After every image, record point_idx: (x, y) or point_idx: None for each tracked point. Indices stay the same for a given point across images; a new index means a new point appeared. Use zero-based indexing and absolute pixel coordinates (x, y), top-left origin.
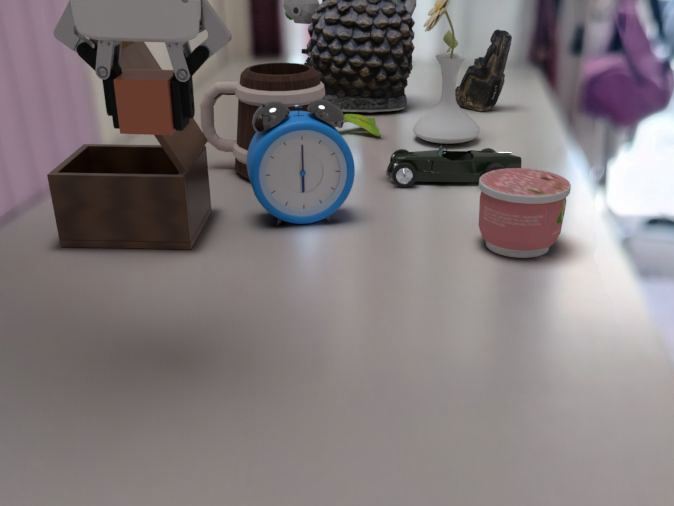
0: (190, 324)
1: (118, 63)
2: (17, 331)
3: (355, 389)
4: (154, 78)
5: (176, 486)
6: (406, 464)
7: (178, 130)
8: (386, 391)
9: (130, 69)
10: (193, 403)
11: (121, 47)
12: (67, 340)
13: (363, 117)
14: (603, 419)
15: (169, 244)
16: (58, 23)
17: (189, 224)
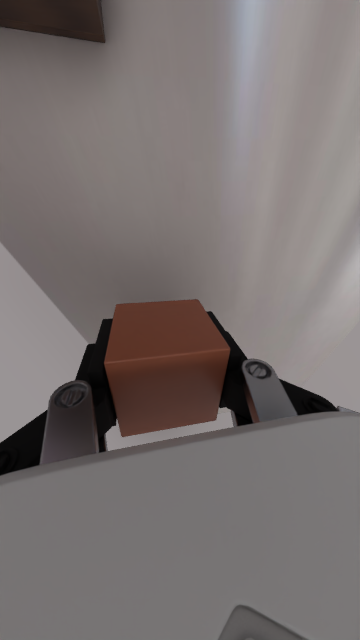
0: (156, 253)
1: (94, 407)
2: (35, 271)
3: (247, 313)
4: (192, 415)
5: None
6: (256, 353)
7: None
8: (260, 313)
9: (114, 370)
10: None
11: (95, 438)
12: (81, 281)
13: None
14: (332, 321)
15: (73, 34)
16: None
17: (98, 6)
